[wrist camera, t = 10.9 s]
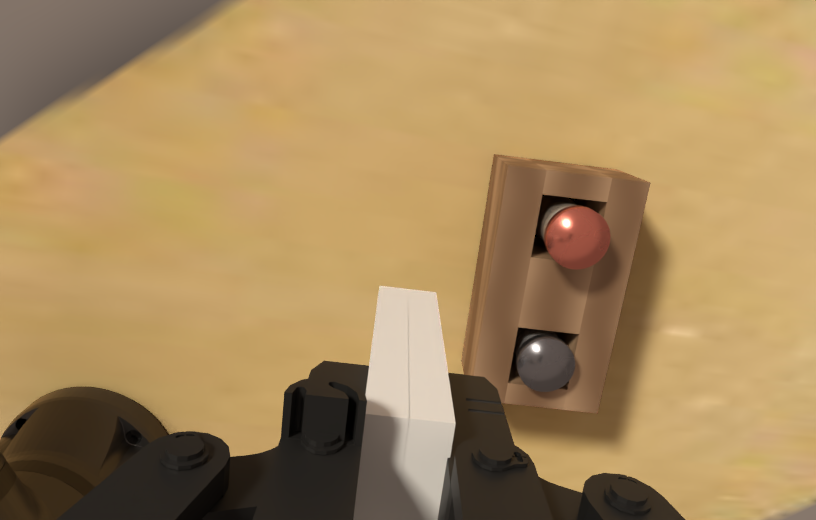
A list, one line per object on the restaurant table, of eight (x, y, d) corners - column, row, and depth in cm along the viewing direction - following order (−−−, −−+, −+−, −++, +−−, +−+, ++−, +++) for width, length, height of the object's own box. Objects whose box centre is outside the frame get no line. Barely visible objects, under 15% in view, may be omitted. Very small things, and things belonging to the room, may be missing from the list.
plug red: (521, 239, 49) (542, 265, 42) (531, 186, 48) (553, 204, 41) (574, 245, 49) (603, 272, 42) (584, 193, 48) (616, 212, 41)
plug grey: (498, 347, 53) (513, 388, 46) (506, 301, 52) (523, 336, 45) (546, 352, 53) (569, 394, 46) (556, 307, 52) (580, 342, 45)
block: (461, 360, 54) (469, 399, 47) (494, 154, 49) (508, 165, 43) (573, 372, 54) (597, 413, 48) (617, 169, 50) (650, 182, 43)
